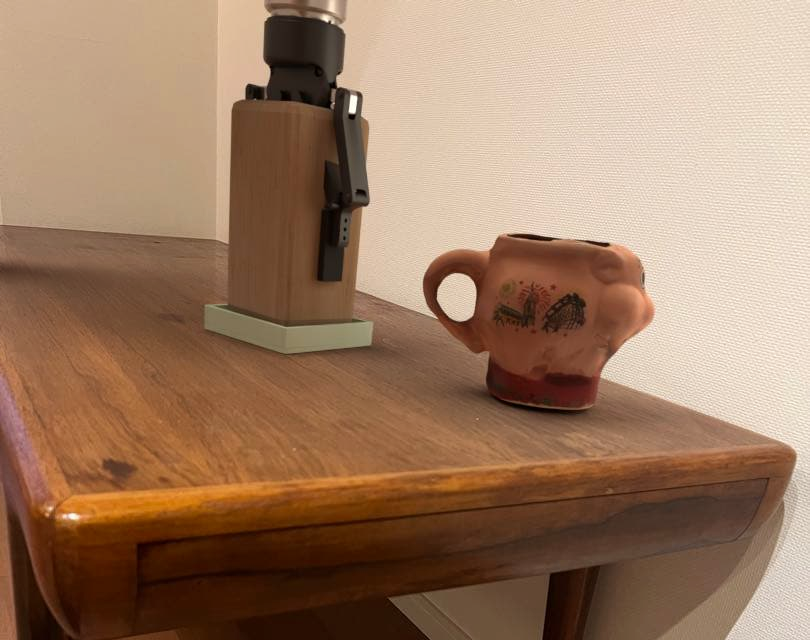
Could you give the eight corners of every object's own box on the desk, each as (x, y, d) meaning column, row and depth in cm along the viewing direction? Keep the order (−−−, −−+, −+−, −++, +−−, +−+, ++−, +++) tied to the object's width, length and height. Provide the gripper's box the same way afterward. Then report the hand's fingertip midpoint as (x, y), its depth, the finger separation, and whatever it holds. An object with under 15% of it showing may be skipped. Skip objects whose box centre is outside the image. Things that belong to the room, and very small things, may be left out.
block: (223, 311, 83) (227, 97, 74) (297, 310, 89) (309, 113, 81) (280, 330, 77) (292, 99, 68) (355, 327, 83) (374, 117, 75)
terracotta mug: (418, 406, 63) (441, 224, 58) (404, 372, 74) (422, 216, 69) (651, 427, 66) (695, 254, 60) (604, 391, 77) (638, 242, 71)
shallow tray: (204, 328, 83) (204, 304, 82) (292, 323, 92) (293, 301, 91) (284, 354, 76) (286, 328, 75) (371, 345, 85) (373, 322, 84)
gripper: (426, 29, 68) (398, 290, 78) (255, 32, 81) (248, 256, 90) (369, 7, 63) (346, 291, 72) (195, 14, 75) (194, 255, 85)
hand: (292, 272), depth 81 cm, fingers closed on block, 10 cm apart
